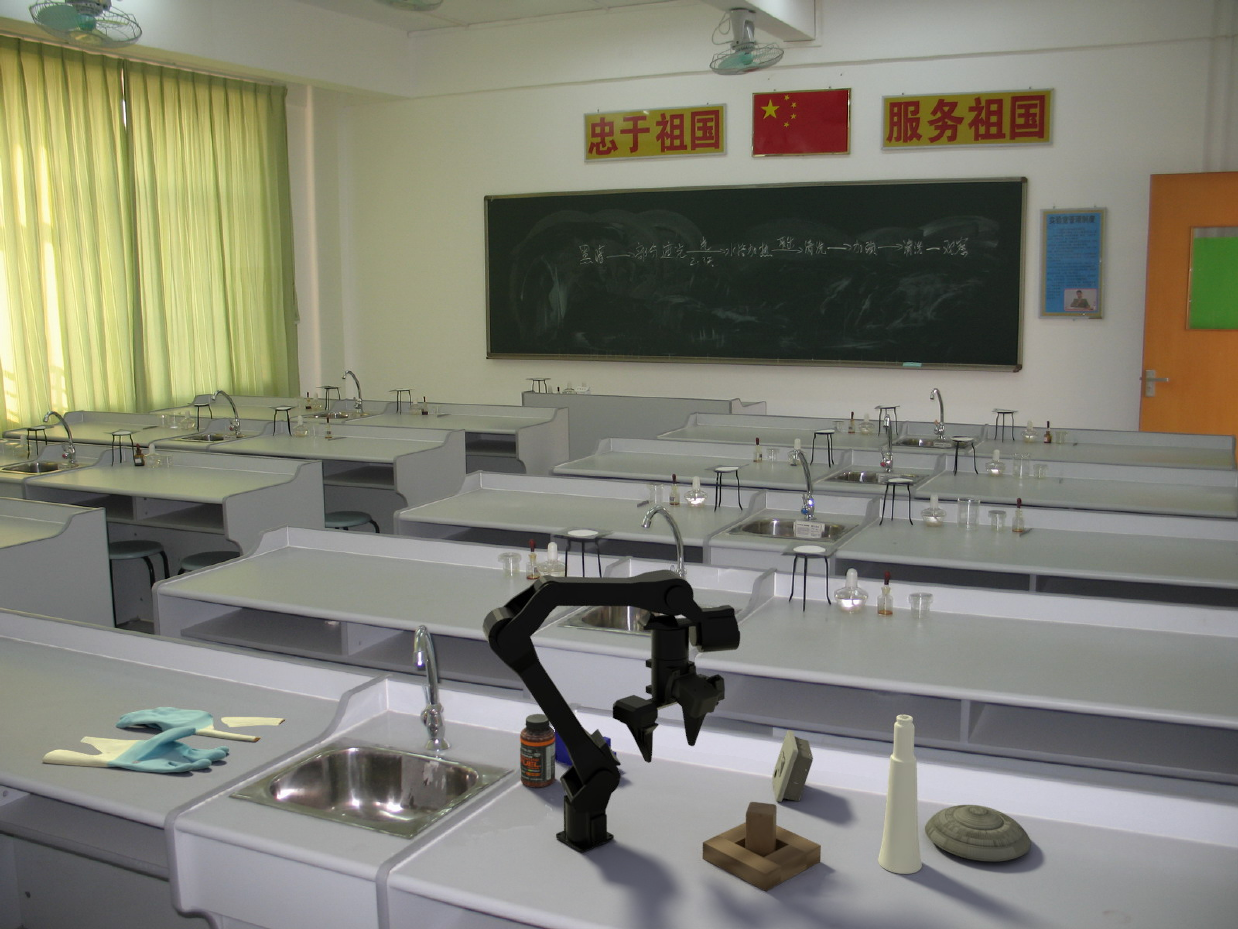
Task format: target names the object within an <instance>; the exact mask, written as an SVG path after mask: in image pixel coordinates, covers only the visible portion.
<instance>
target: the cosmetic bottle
mask: <svg viewBox="0 0 1238 929" xmlns="http://www.w3.org/2000/svg"><path fill="white" fill-rule="evenodd" d="M913 721H914V718H913V716H911V715H908V714H898V715H897V716H896V721H895V722H894V726H893V728H894V729H893V753H891V755H890V756H889V765H888V766H889V768H888V777H887V779H888V780H887V791H886V802H885V803H886V805H885V815H884V816H885V817H884V824H883V834H882V839H881V845H880V846H881V847H880V850H879V855H878V863H879V865H880V866H881V867H882V868H883V869H884V870H886V871H888V872H891V873H894V874H899V875H910V874H915V873H917V872H919V871H920V870H921V869H922V866H923V863H922V857H921V850H920V840H919V839H920V838H919V818H918V817H919V816H918V814H919V812H918V768H917V766H918V765H917V764H918V763H917V757H916V756H915V755H914V753H915V725H914V723H913Z"/></svg>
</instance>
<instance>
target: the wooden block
mask: <svg viewBox="0 0 1238 929" xmlns="http://www.w3.org/2000/svg"><path fill="white" fill-rule="evenodd" d="M748 803H749V804H748V807H747V810H746V812H745V822H746V842H745V849H747V850H749V851H751V852H753V853H755V854H757V855H760V856H762V857H765V856H767V855H769V854H771V853H773V852H775V851H776V825H777V809H778V808H777V804H774V803H768V802H767V803H765V802H757V801H750V802H748Z"/></svg>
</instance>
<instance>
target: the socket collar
mask: <svg viewBox="0 0 1238 929" xmlns="http://www.w3.org/2000/svg"><path fill="white" fill-rule="evenodd" d="M745 842H746V821H745V822H743V823H741V824H739V825H737V826H735V827H733V828H731V829H728V830H725V831H724V832H721V833H719V834H717V835H715V836H713V837H711V838H708V839H707V840H704V841H703V842H702V860H705V861H707V862H709V863H711V864H712V865H714V866H717V867H718V868H720V869H722V870H724V871H726V872H728V873H729V874H732V875H734V876H736V877H738V878H739V879H741V880H743V881H745V882H747V883H749V884H751V885H753V886H755V887H757V888H759V889H761V890H762V891H765V892H767V891H768V890H770V889H772V888H774V887H776V886H778V885H779V884H782V883H784V882H785V881H787V880H789V879H791V878H793V877H795V876H797V875H799V874H800V873H803V872H804V871H806V870H807V869H810V868H812V867H813V866H815V865H817V864H819V863H821V861H822V860H821V856H822V855H821V854H822V852H821V851H822V847H821V846H822V845H821V844H819V843H817V842H815V841H812V840H810V839H808V838H807V837H803V836H802V835H799V834H797V833H795V832H793V831H790V830H788V829H786V828H784V827H782V826H779V825H777V824H776V851H775V852H773V853H771V854H769V855H767V856H765V857H762V856H760V855H757V854H755V853H753V852H751V851H749V850H747V849H745Z"/></svg>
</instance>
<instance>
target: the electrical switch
mask: <svg viewBox="0 0 1238 929" xmlns="http://www.w3.org/2000/svg"><path fill="white" fill-rule="evenodd" d="M813 761H814V756H813V753H812V750H811V746H810V742H809V740H807V739H803V738H800V737H797V736H795V733H794V730H790V729H788V730H787V732H786V734H785V737H784V740H783V742H782V745H781V748H780V752H779V754H778V757H777V760H776V762H775V766H774V769H773V773H772V778H771V779H772V784H773V791H774V797H775V801H776V802H777V801H778V802H779V803H782V801H783V799H787V800H792V801H795V802H800V800H801V797H802V793H803V791H804V789H805V785H806V782H807V780H808V775H809V773H810V770H811V767H812V764H813Z"/></svg>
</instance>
